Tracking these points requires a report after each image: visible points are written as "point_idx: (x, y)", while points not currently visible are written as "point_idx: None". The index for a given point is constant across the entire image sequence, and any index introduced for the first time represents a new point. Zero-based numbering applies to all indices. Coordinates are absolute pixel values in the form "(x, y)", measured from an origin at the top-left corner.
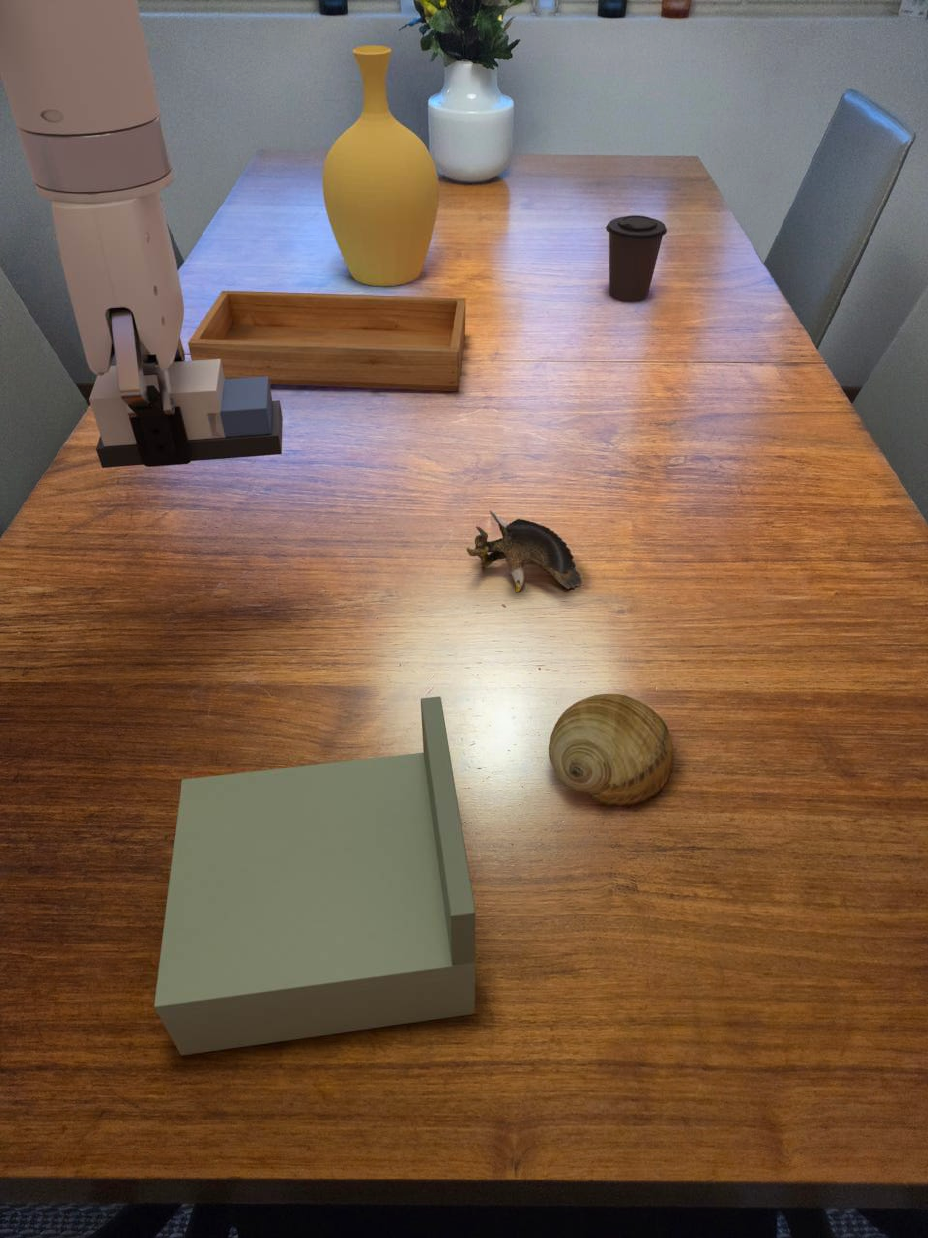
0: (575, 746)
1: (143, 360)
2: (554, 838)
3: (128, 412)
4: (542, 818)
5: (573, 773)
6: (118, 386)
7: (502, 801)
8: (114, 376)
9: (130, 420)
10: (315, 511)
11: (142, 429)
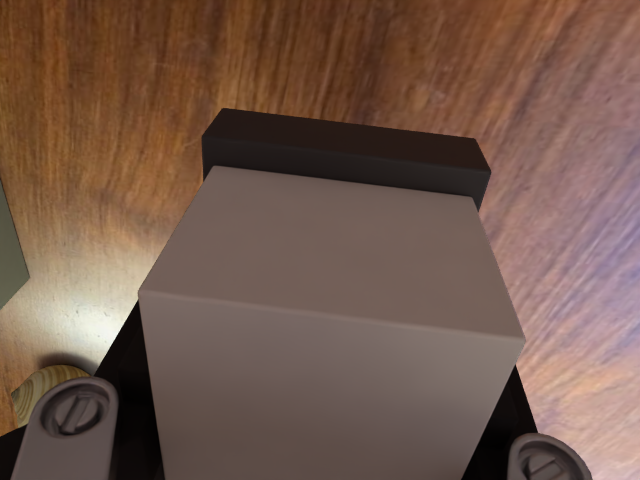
0: (26, 407)
1: (505, 473)
2: (7, 338)
3: (39, 405)
4: (26, 337)
5: (13, 391)
6: (255, 397)
7: (41, 317)
8: (367, 389)
9: (128, 347)
10: (565, 248)
11: (103, 359)
